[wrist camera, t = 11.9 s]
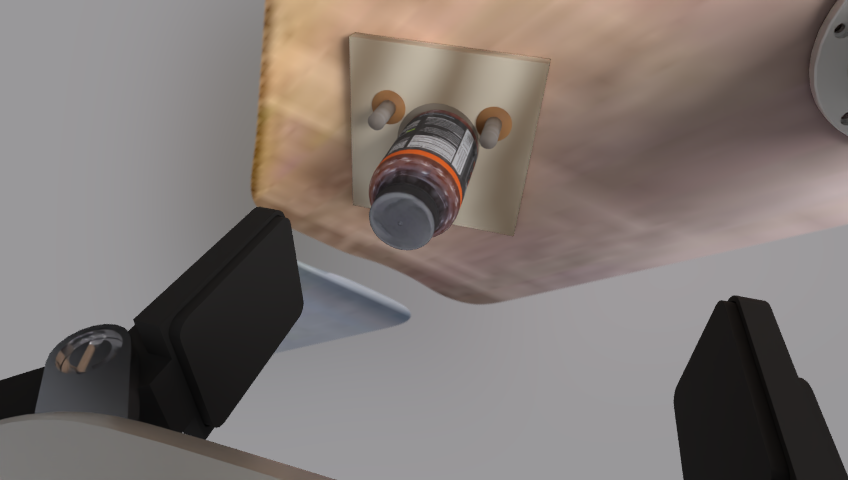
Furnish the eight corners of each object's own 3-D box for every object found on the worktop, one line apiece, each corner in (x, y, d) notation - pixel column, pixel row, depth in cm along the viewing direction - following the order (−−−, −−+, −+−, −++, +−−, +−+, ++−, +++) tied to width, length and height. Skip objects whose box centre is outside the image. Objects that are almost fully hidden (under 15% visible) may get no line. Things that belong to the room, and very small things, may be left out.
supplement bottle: (454, 192, 40) (419, 281, 31) (390, 153, 39) (336, 231, 30) (495, 135, 36) (469, 216, 28) (426, 90, 36) (376, 158, 27)
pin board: (550, 59, 34) (547, 77, 30) (515, 228, 42) (509, 257, 39) (355, 32, 36) (332, 47, 33) (357, 198, 44) (339, 223, 41)
